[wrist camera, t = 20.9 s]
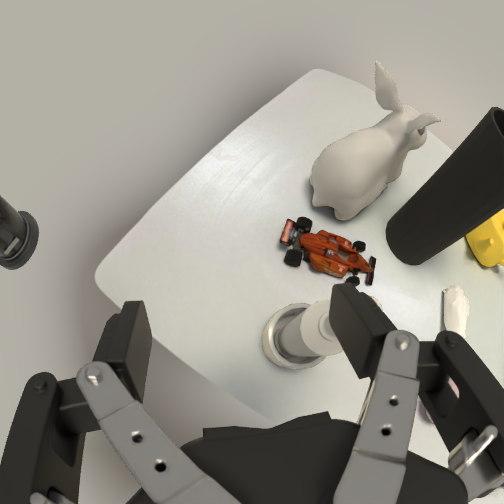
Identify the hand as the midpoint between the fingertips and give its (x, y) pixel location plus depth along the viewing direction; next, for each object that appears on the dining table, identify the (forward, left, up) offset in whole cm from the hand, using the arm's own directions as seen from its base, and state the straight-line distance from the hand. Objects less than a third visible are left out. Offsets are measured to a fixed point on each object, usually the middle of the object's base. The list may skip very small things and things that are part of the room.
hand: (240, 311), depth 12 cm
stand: (+9, 0, -31) cm, 32 cm away
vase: (+34, +14, -31) cm, 48 cm away
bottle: (+8, 0, -30) cm, 31 cm away
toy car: (+17, +12, -31) cm, 37 cm away
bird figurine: (+39, -1, -31) cm, 49 cm away
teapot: (+55, +11, -31) cm, 64 cm away
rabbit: (+25, +25, -31) cm, 47 cm away
